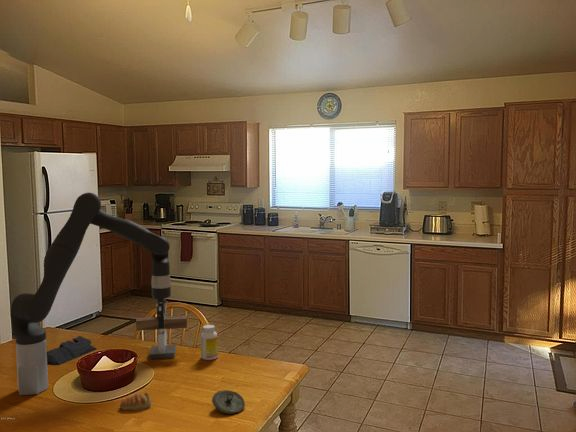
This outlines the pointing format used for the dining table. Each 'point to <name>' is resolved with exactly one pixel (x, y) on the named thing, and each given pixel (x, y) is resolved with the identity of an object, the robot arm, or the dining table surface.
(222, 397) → the lid
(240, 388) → the dining table surface
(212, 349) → the supplement bottle
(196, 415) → the dining table surface
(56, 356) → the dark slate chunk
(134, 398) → the pastry
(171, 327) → the batten
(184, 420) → the dining table surface
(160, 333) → the ridge stand
